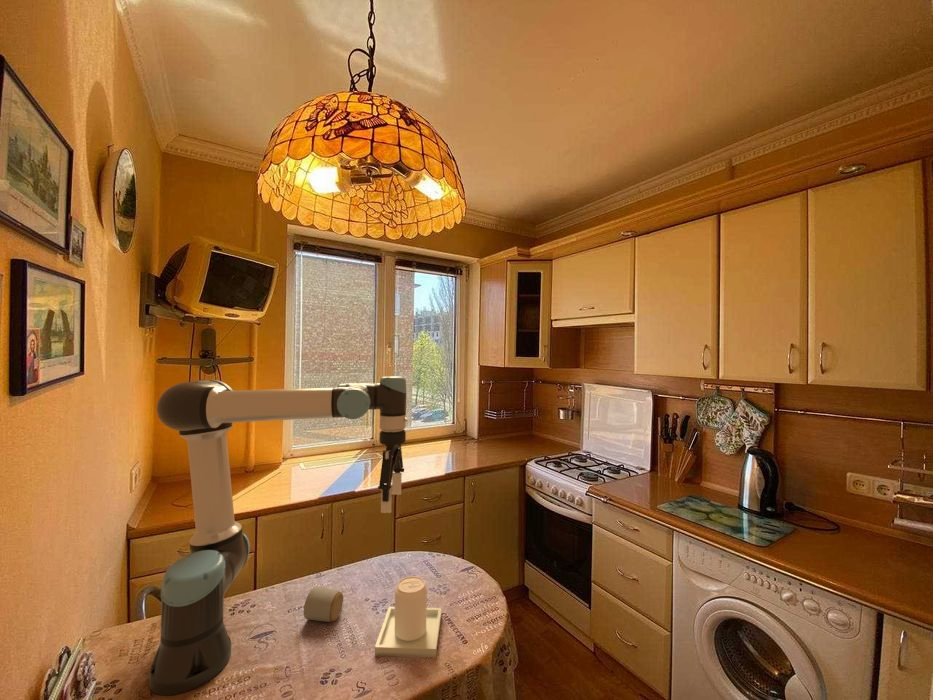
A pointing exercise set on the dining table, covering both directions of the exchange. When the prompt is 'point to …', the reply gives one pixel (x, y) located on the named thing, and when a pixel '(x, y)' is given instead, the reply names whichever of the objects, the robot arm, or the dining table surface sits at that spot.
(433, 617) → the holder tray
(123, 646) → the dining table surface
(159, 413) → the robot arm
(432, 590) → the dining table surface
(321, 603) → the ceramic mug
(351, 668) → the dining table surface
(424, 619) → the beverage can
